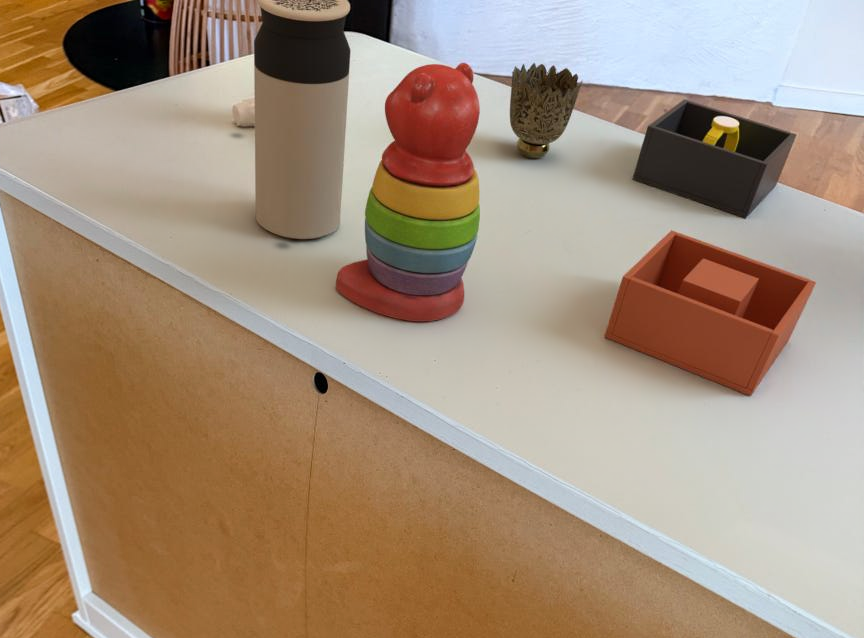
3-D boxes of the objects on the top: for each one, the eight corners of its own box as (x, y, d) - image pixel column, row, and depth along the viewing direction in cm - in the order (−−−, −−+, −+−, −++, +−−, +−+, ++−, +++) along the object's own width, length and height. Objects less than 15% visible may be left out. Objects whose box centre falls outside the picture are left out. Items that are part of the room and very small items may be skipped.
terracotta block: (736, 332, 81) (759, 278, 77) (717, 356, 78) (740, 301, 74) (683, 312, 82) (703, 258, 78) (662, 334, 79) (682, 279, 75)
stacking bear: (416, 253, 85) (444, 33, 72) (493, 302, 81) (538, 77, 67) (325, 284, 80) (337, 53, 67) (402, 338, 76) (431, 102, 62)
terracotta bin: (788, 340, 82) (816, 281, 77) (750, 396, 75) (779, 335, 71) (651, 288, 85) (671, 229, 81) (603, 337, 79) (622, 276, 75)
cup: (493, 138, 105) (507, 59, 99) (555, 142, 106) (572, 64, 100) (506, 165, 100) (521, 85, 94) (570, 169, 102) (589, 89, 96)
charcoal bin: (776, 185, 104) (797, 134, 100) (745, 218, 98) (767, 164, 93) (668, 150, 108) (684, 99, 104) (632, 179, 101) (647, 125, 97)
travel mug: (357, 226, 88) (373, 5, 74) (297, 250, 83) (303, 21, 70) (298, 195, 91) (304, -22, 77) (238, 217, 87) (232, -9, 73)
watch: (711, 167, 105) (731, 110, 100) (732, 176, 103) (753, 119, 99) (681, 179, 102) (701, 121, 97) (702, 188, 100) (723, 130, 96)
